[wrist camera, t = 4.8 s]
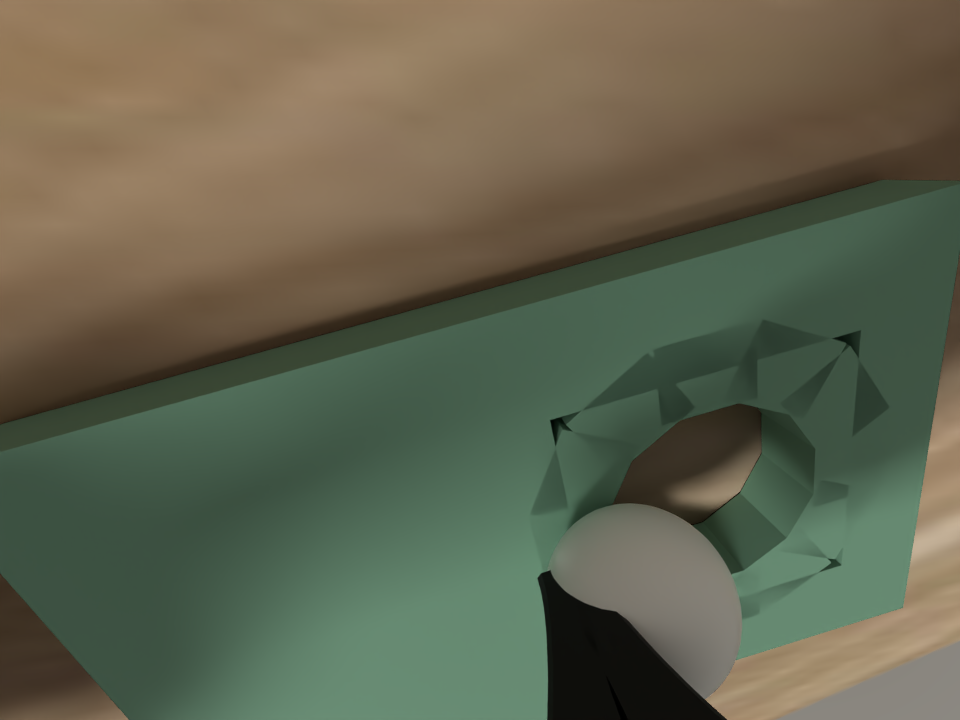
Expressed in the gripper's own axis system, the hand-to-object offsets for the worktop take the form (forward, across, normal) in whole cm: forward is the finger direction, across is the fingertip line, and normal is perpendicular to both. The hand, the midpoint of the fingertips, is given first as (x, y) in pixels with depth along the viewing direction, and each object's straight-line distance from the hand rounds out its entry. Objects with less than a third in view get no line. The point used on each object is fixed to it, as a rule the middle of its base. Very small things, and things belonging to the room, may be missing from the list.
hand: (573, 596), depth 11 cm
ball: (0, -1, 0) cm, 1 cm away
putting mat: (+3, +1, 0) cm, 3 cm away
